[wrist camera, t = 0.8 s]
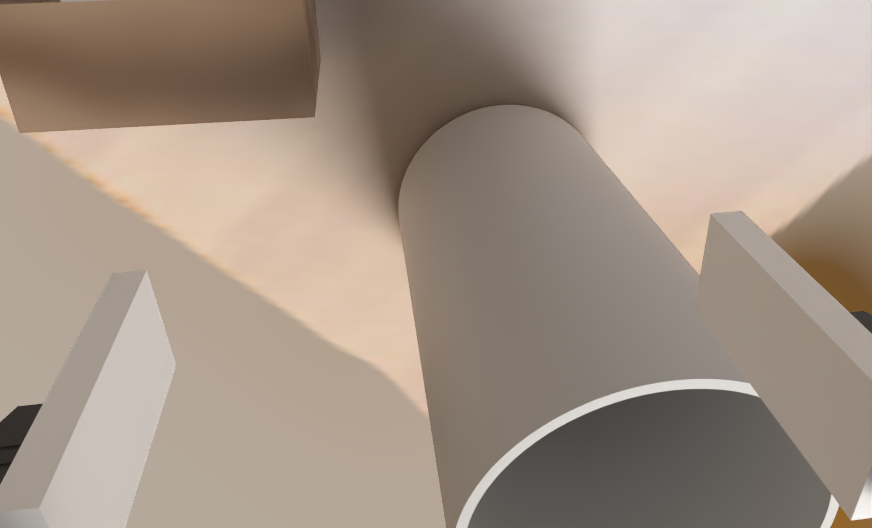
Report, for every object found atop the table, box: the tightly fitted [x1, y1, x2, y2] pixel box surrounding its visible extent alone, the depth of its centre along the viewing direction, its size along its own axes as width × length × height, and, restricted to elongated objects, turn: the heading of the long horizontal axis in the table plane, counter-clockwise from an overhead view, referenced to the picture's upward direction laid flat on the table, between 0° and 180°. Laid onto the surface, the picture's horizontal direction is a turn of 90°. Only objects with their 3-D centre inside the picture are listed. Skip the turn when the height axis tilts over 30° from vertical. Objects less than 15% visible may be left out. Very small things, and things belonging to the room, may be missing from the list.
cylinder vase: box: [398, 105, 839, 528], centre depth 33 cm, size 12×12×25 cm
